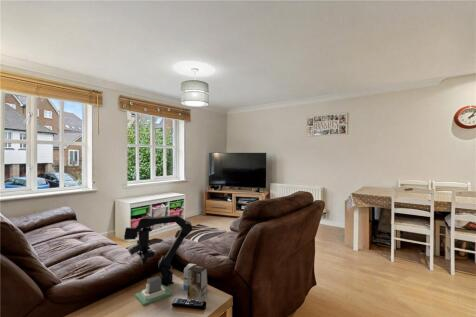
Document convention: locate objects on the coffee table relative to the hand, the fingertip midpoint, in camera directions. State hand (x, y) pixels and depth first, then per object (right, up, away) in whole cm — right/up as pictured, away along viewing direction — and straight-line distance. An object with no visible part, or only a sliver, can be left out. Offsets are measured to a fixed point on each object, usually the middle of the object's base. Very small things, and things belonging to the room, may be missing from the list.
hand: (143, 265), depth 143 cm
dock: (+10, -12, -10) cm, 18 cm away
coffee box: (+34, -13, -12) cm, 38 cm away
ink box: (+27, -13, 0) cm, 30 cm away
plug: (+10, -11, -10) cm, 18 cm away
